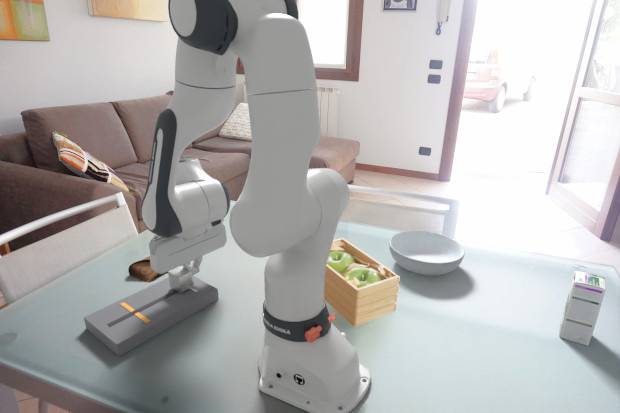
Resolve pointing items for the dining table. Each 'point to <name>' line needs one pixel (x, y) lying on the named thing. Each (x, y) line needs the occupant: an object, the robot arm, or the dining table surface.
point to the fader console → (147, 313)
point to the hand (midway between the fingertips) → (193, 273)
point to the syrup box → (582, 307)
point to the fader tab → (180, 279)
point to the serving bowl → (426, 252)
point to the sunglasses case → (143, 270)
